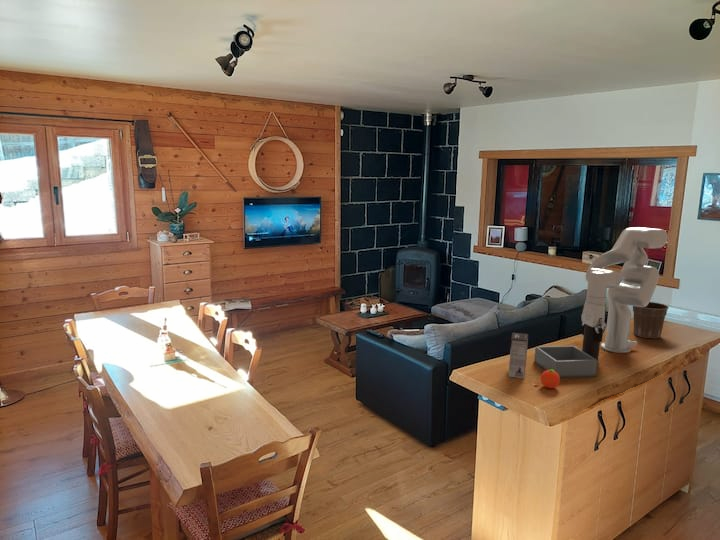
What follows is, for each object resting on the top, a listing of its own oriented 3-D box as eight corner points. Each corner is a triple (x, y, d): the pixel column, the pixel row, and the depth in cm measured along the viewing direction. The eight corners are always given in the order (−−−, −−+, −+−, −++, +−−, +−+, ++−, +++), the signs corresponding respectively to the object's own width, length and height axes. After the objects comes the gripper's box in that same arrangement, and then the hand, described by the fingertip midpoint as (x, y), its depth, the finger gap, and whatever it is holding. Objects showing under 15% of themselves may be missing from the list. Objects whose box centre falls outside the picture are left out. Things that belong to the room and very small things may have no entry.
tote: (572, 360, 224) (573, 345, 223) (595, 376, 207) (597, 360, 206) (534, 362, 222) (535, 346, 220) (554, 378, 205) (556, 361, 203)
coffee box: (509, 368, 214) (512, 331, 211) (525, 370, 212) (528, 333, 209) (508, 376, 205) (510, 338, 202) (524, 379, 203) (527, 340, 200)
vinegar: (585, 356, 230) (589, 313, 226) (600, 360, 225) (605, 316, 221) (578, 359, 226) (582, 315, 222) (593, 364, 221) (598, 319, 217)
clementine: (545, 381, 201) (546, 364, 200) (563, 386, 196) (564, 369, 195) (536, 387, 195) (538, 370, 194) (555, 393, 191) (556, 375, 189)
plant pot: (623, 334, 263) (626, 304, 260) (636, 328, 273) (639, 299, 270) (657, 342, 251) (661, 310, 248) (669, 336, 261) (673, 305, 258)
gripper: (576, 295, 228) (572, 332, 231) (599, 304, 211) (594, 344, 214) (592, 295, 229) (588, 332, 232) (616, 304, 212) (611, 344, 215)
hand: (591, 338), depth 223 cm, fingers open, 9 cm apart
